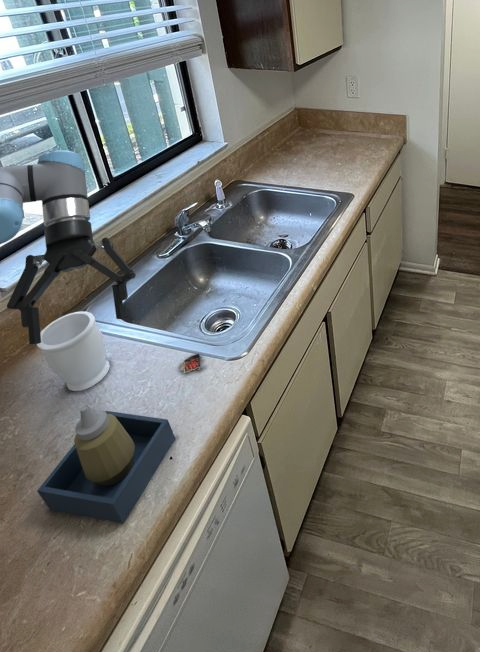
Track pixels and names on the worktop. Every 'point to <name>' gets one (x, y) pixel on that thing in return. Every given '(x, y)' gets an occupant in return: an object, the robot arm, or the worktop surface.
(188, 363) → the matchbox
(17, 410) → the worktop surface
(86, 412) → the squeeze bottle
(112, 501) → the bin
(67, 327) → the jar
